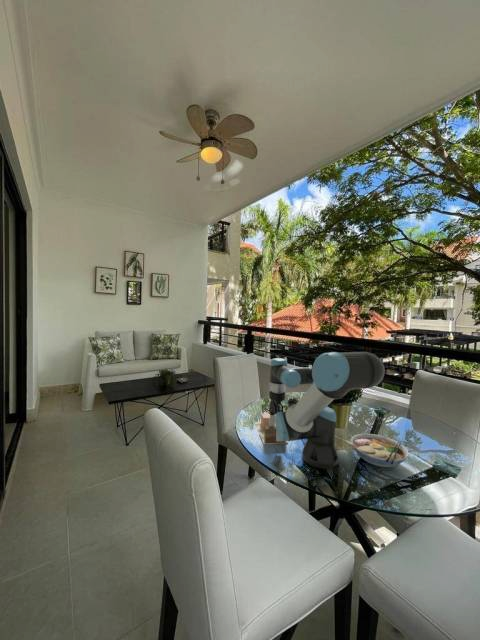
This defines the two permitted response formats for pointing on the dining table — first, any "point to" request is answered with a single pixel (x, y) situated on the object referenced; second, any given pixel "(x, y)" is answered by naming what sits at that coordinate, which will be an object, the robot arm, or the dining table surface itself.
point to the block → (265, 420)
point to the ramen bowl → (379, 450)
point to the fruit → (292, 402)
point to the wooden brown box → (268, 434)
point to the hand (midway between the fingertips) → (275, 434)
